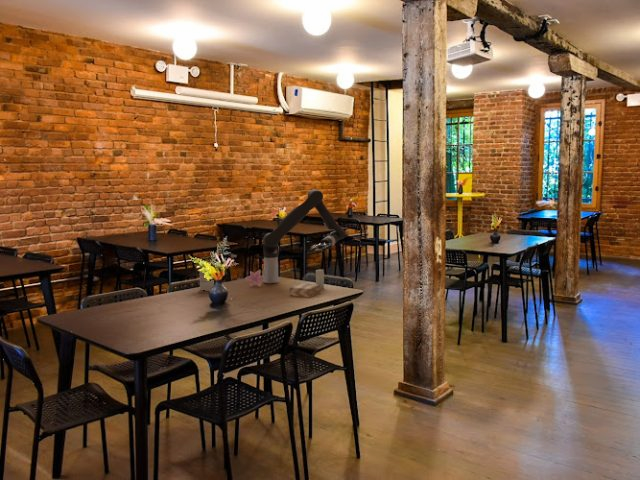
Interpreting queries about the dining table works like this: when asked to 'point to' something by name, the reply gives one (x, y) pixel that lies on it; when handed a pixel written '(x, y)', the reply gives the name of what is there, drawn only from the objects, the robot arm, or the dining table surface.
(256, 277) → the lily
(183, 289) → the dining table surface
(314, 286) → the birch plinth
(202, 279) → the supplement box
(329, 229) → the robot arm
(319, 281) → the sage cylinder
